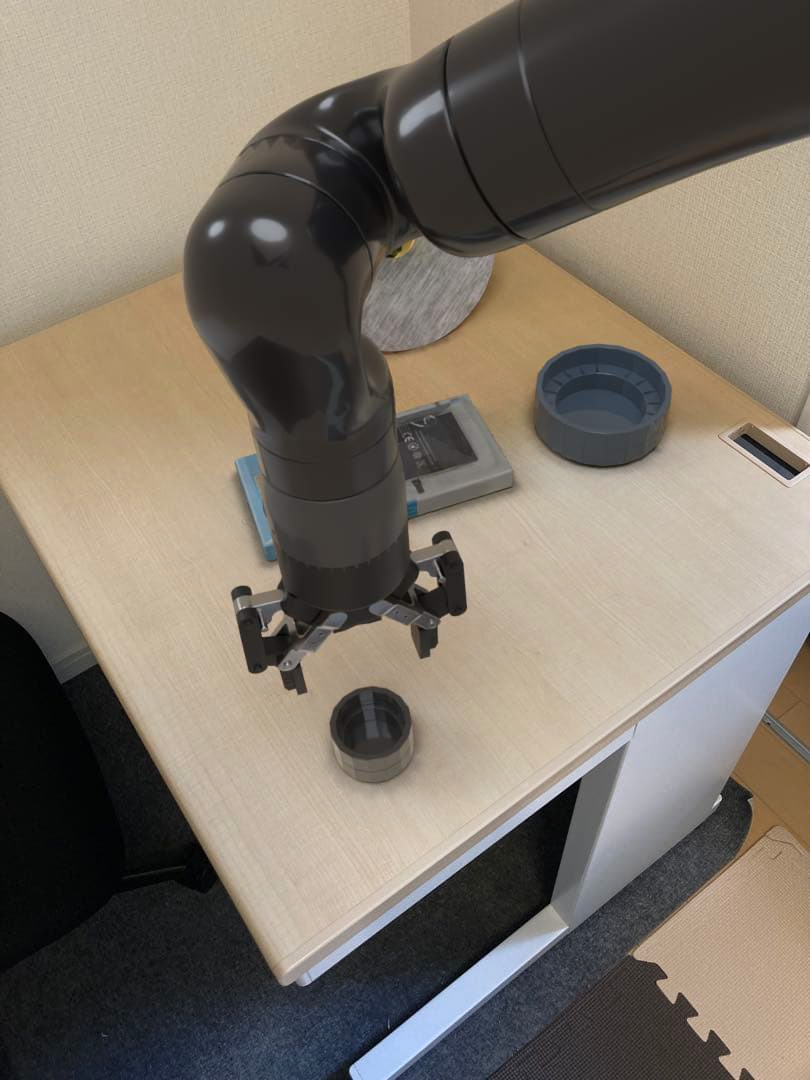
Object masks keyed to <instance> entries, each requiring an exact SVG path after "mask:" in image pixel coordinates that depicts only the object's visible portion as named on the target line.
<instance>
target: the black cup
mask: <svg viewBox="0 0 810 1080" xmlns="http://www.w3.org/2000/svg"><path fill="white" fill-rule="evenodd" d="M329 731H330V738H331V741H332V746H333V749H334V754H335V758H336V760H337V763H339V765H340V767H341V769H342V770H343V771H344V772H345V773H346V774H348V775H349V776H350V777H353V778H354V779H356V780H358V781H362V782H367V783H372V784H374V783H379V782H385V781H389V780H391V779H392V778H394V777H396V776H397V775H398V774H399V775H400V773H402V772H403V771H404V769H405V768H406V766H407V765H408V764H409V762H410V761H412V756H413V752H414V747H415V740H414V739H415V737H414V728H413V720H412V714H411V709H410V707H409V705H407V702H405V700H404V699H403V697H402V696H401V695H399V694H398V693H396V692H394V691H393V690H392V689H389V688H386V687H382V686H374V685H370V686H364V687H359V688H356V689H354V690H352V691H350V692H348V693H346V694H345V695H344V696H342V697H341V699H340V700H339V701H338V703H337V704H335V706H334V707H333V709H332V712H331V716H330V719H329Z"/></svg>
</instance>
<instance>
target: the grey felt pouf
mask: <svg viewBox="0 0 810 1080" xmlns="http://www.w3.org/2000/svg"><path fill="white" fill-rule="evenodd" d="M496 254H497V253H495V254H492V255H488V256H483V257H476V258H464V257H457V256H453V255H451V254H448V253H445V252H444V251H442V250H440V249H438V248H437V247H435V246H434V245H433V244H431V243H430V242H429V241H428V240H427V239H426V238H425V237H424V236H422V237H419V238H416V239H414V240H411V241H409V242H407V243H405V244H404V245H402V246H400V247H399V248H397V249H395V250H394V251H392V252H391V253H390V254H388V255H387V256H386V257H385V259H384V261H383V263H382V265H381V267H380V270H379V272H378V274H377V276H376V278H375V281H374V283H373V285H372V287H371V290H370V292H369V294H368V297H367V299H366V301H365V304H364V307H363V313H362V325H361V332H362V333H363V334H365V335H366V336H368V337H369V338H370V339H372V341H373V342H374V343H375V344H376V345H377V346H378V347H379V348H380V350H381V351H382V352H400V351H409V350H414V349H419V348H421V347H424V346H427V345H430V344H432V343H434V342H436V341H438V340H440V339H442V338H443V337H445V336H447V335H448V334H450V333H451V332H452V331H454V330H455V329H456V328H457V327H458V326H459V325H460V324H462V322H463V321H464V320H465V319H466V318H467V317H468V316H469V315H470V314H471V312H472V311H473V310H474V308H475V307H476V306H477V304H478V303H479V301H480V300H481V298H482V296H483V295H484V293H485V290H486V289H487V286H488V284H489V280H490V278H491V276H492V273H493V268H494V265H495V264H494V263H495V258H496Z"/></svg>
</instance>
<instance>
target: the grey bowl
mask: <svg viewBox="0 0 810 1080" xmlns="http://www.w3.org/2000/svg"><path fill="white" fill-rule="evenodd" d="M672 392H673V387H672V384H671V381H670V380H669V377H668V375H667V373H666V372H665V371H664V369H663V368H661V366H660V365H659V364H658V363H657V362H656V361H655V360H653V359H651V358H650V357H648V356H647V355H645V354H644V353H642V352H640V351H638V350H634V349H631V348H628V347H624V346H621V345H616V344H607V343H590V344H582V345H580V344H579V345H575V346H574V347H570V348H567V349H565V350H562V351H560V352H558V353H557V354H555V355H554V356H552V357H550V358H549V359H548V360H546V362H545V363H544V364H543V366H542V367H541V369H540V370H539V371H538V373H537V377H536V384H535V390H534V403H533V413H532V414H533V415H532V420H533V423H534V428H535V431H536V434H537V435H538V436H539V437H540V439H541V441H542V442H544V444H545V445H546V446H547V447H548V448H550V449H551V450H552V451H553V452H555V453H557V454H558V455H560V456H561V457H563V458H566V459H568V460H571V461H574V462H577V463H579V464H583V465H591V466H599V467H606V466H607V467H608V466H615V465H623V464H627V463H630V462H633V461H636V460H639V459H641V458H643V457H644V456H645V455H647V454H648V453H650V451H652V450H653V449H654V448H656V447H657V445H658V444H659V442H660V441H661V438H662V437H663V435H664V432H665V428H666V424H667V419H668V416H669V412H670V408H671V403H672Z"/></svg>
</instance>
